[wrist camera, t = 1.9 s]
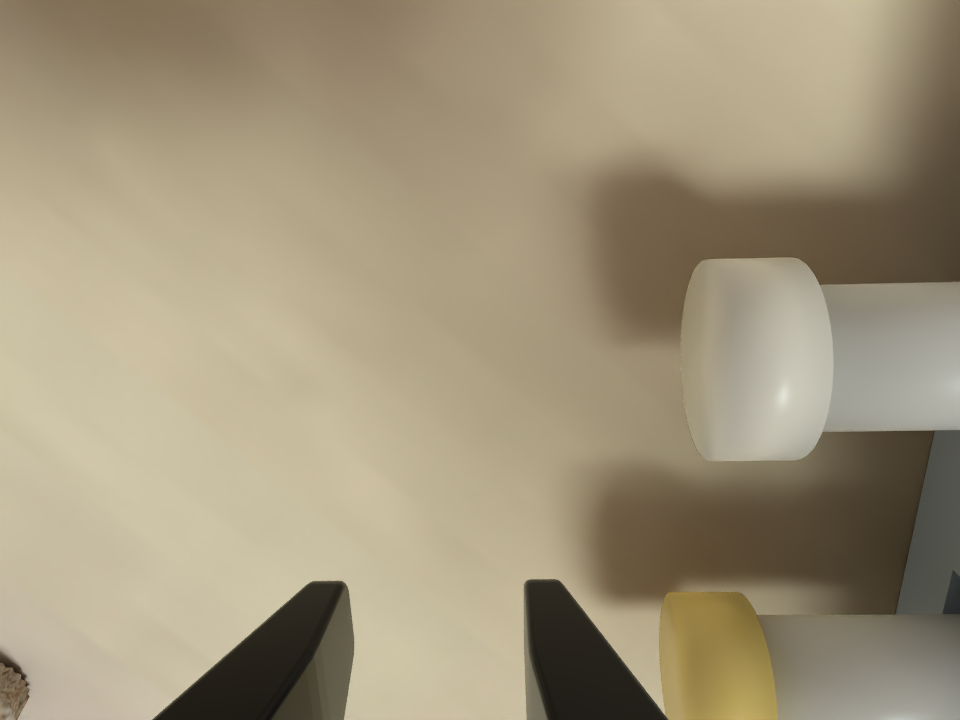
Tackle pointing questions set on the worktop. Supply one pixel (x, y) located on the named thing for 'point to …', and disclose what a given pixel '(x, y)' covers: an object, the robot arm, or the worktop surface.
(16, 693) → the mushroom
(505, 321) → the worktop surface
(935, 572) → the mount
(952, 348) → the knob
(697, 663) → the yellow capped tube
